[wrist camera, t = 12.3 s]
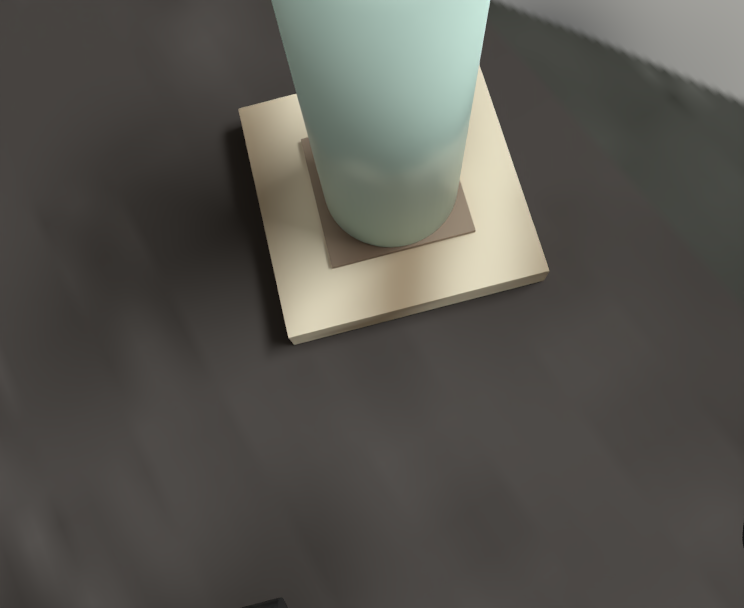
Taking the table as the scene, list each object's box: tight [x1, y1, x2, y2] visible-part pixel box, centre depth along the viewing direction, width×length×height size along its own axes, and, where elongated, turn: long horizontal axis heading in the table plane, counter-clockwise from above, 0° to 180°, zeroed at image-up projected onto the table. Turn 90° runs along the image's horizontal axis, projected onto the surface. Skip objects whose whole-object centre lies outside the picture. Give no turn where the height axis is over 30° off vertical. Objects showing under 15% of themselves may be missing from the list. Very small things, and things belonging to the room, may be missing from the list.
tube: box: [271, 0, 490, 247], centre depth 20 cm, size 5×5×13 cm
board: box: [239, 65, 549, 345], centre depth 27 cm, size 10×10×1 cm
